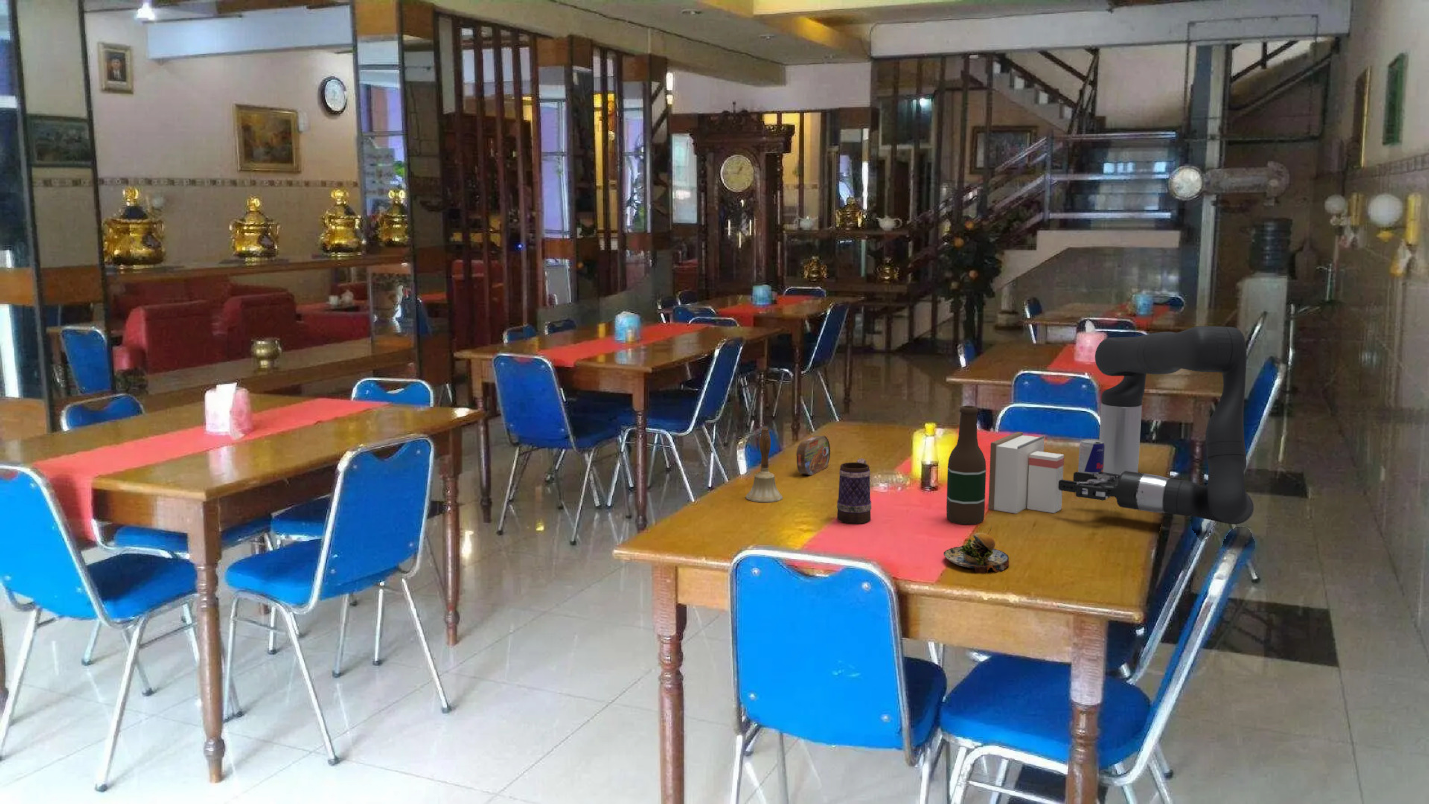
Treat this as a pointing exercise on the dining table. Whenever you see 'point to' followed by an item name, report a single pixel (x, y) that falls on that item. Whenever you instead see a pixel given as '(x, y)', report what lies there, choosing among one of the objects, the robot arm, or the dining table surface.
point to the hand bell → (764, 475)
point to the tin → (813, 455)
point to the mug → (854, 493)
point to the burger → (979, 554)
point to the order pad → (1011, 471)
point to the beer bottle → (966, 473)
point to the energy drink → (1091, 456)
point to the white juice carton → (1045, 481)
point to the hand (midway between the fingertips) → (1066, 480)
